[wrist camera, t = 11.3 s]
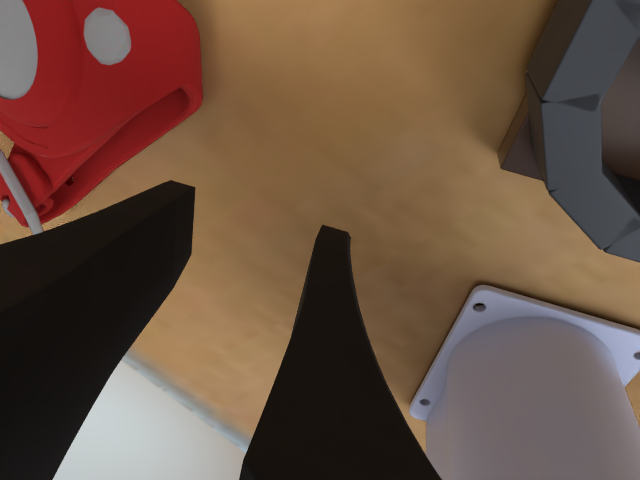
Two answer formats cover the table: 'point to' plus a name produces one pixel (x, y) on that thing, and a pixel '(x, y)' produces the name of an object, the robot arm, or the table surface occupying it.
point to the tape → (584, 117)
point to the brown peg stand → (617, 128)
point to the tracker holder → (87, 93)
